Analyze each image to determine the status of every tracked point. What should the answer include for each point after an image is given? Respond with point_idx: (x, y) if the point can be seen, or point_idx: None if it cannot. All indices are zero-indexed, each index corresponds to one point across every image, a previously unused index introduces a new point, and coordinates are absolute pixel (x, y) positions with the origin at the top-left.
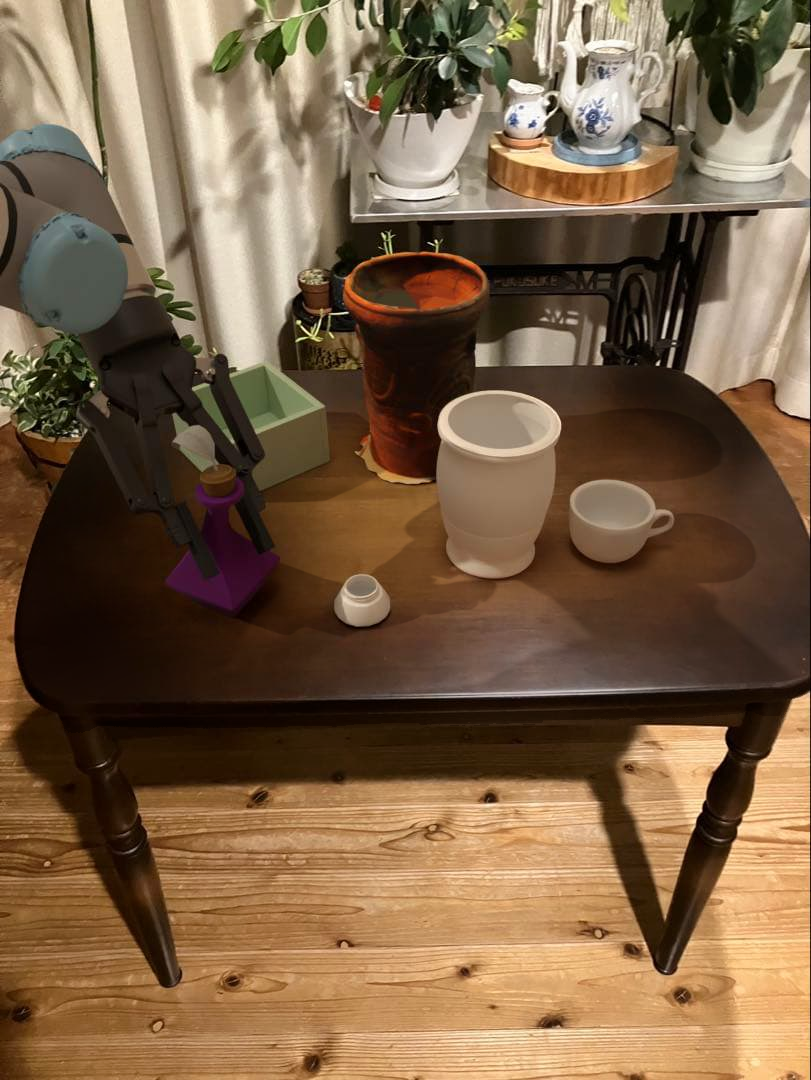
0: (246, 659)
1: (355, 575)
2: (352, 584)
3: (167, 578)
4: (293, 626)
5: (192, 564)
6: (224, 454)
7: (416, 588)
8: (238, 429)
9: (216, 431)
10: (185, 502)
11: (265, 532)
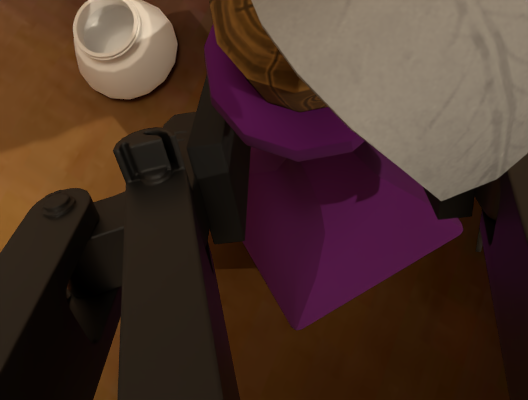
0: None
1: (98, 54)
2: (114, 85)
3: (456, 232)
4: None
5: (409, 176)
6: (192, 225)
7: (28, 56)
8: (37, 319)
9: (153, 323)
10: None
11: None
